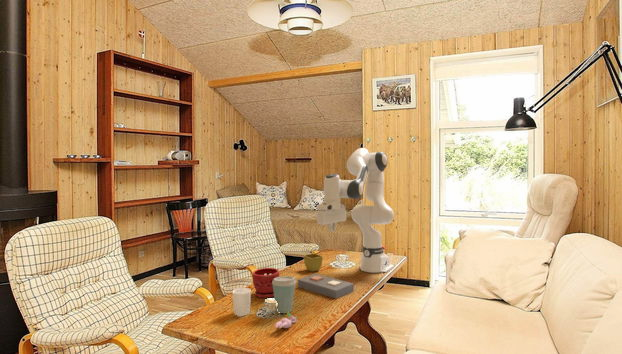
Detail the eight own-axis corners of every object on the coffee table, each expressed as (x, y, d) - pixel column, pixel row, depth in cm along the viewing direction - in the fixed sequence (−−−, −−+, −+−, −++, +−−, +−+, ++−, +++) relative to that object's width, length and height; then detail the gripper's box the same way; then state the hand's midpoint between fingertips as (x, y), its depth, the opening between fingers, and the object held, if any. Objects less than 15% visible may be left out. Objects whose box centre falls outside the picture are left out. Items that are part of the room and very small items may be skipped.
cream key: (333, 286, 193) (333, 280, 193) (341, 288, 190) (341, 282, 190) (327, 288, 190) (327, 282, 190) (334, 290, 186) (334, 284, 186)
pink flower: (287, 322, 157) (270, 331, 143) (288, 307, 158) (271, 315, 144) (300, 324, 155) (284, 333, 141) (301, 309, 155) (285, 317, 142)
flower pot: (323, 270, 227) (323, 256, 227) (311, 273, 222) (311, 258, 222) (315, 267, 234) (314, 253, 234) (303, 269, 230) (303, 255, 229)
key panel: (315, 280, 208) (315, 273, 208) (353, 291, 190) (353, 283, 190) (297, 286, 198) (297, 279, 198) (335, 298, 180) (335, 290, 180)
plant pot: (265, 288, 195) (265, 266, 195) (284, 293, 188) (284, 270, 187) (247, 296, 184) (246, 272, 184) (267, 301, 177) (266, 276, 176)
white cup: (235, 309, 167) (234, 287, 167) (252, 309, 167) (252, 287, 167) (230, 317, 159) (230, 293, 159) (249, 317, 159) (248, 293, 159)
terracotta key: (316, 281, 202) (316, 275, 201) (323, 283, 198) (323, 277, 198) (309, 283, 198) (309, 277, 198) (316, 285, 194) (316, 279, 194)
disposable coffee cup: (267, 310, 166) (267, 277, 166) (287, 304, 173) (287, 272, 172) (280, 318, 158) (280, 282, 157) (301, 312, 164) (301, 278, 164)
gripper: (339, 203, 206) (340, 228, 207) (314, 206, 192) (314, 233, 192) (349, 203, 202) (349, 229, 203) (323, 207, 187) (324, 234, 188)
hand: (332, 231), depth 197 cm, fingers closed
